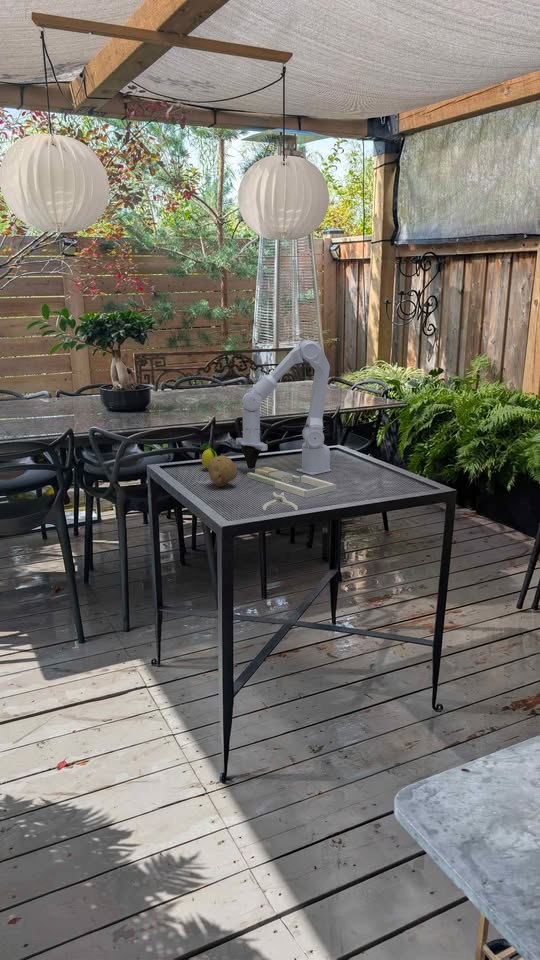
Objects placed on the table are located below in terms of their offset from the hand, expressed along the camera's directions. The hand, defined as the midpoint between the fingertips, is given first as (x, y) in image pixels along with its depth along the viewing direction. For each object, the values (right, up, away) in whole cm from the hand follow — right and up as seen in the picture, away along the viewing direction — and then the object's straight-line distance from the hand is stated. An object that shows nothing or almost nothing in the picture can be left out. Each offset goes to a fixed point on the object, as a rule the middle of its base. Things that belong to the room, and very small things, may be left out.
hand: (251, 468), depth 237 cm
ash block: (+5, -3, -5) cm, 8 cm away
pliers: (+9, -11, -34) cm, 37 cm away
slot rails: (+7, -4, -8) cm, 12 cm away
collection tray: (+17, -7, -19) cm, 26 cm away
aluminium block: (+10, -5, -11) cm, 15 cm away
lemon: (-15, -1, +4) cm, 15 cm away
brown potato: (-9, -6, -17) cm, 20 cm away
